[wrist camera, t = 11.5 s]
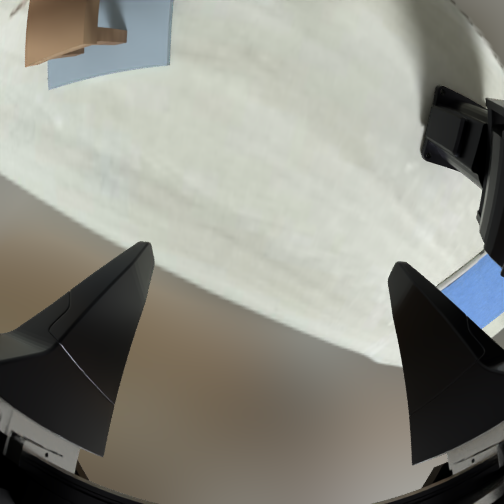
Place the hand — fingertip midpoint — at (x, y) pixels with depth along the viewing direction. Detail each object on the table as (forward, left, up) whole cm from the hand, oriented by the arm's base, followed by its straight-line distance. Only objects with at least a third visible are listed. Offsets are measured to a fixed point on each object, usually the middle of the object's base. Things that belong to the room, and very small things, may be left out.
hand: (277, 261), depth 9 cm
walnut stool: (+13, -12, -11) cm, 21 cm away
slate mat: (+13, -12, -12) cm, 21 cm away
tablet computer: (-32, +14, -13) cm, 37 cm away
